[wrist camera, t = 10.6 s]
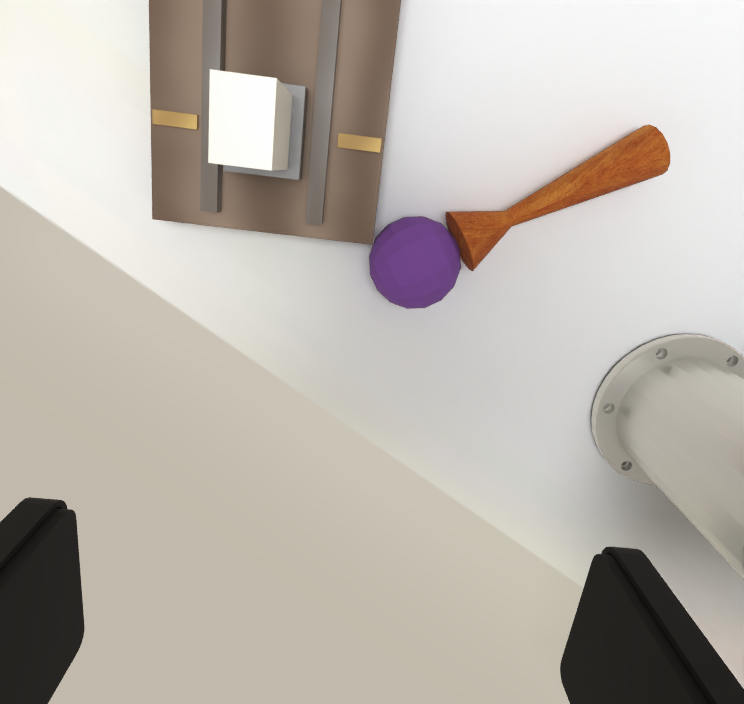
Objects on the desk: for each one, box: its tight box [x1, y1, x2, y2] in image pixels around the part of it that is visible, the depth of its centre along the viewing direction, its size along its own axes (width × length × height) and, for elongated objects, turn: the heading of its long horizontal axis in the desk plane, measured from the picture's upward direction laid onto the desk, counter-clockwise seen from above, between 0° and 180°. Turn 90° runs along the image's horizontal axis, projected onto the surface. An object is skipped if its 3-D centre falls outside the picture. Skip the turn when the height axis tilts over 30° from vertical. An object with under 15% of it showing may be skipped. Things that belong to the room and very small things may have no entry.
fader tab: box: [208, 69, 308, 180], centre depth 28 cm, size 4×5×8 cm
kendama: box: [369, 125, 670, 309], centre depth 35 cm, size 6×6×20 cm
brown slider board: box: [149, 0, 401, 245], centre depth 32 cm, size 14×22×4 cm, turn 173°
